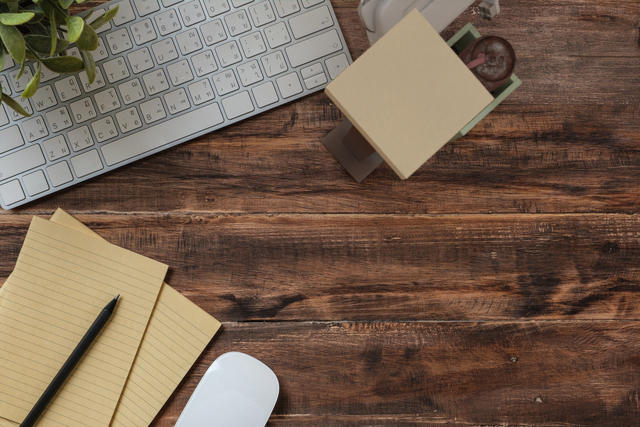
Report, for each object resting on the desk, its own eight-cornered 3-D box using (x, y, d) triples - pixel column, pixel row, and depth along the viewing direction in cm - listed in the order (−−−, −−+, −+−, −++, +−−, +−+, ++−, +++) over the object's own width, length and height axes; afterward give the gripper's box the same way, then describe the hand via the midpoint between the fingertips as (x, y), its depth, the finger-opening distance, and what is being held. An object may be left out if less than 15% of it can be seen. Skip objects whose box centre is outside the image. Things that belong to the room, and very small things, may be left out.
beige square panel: (323, 91, 40) (325, 86, 39) (411, 14, 41) (415, 7, 39) (402, 180, 41) (406, 178, 39) (487, 103, 41) (495, 98, 40)
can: (422, 81, 68) (456, 47, 54) (460, 61, 69) (504, 22, 55) (441, 119, 68) (480, 95, 55) (479, 99, 69) (528, 70, 55)
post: (320, 141, 67) (340, 92, 40) (361, 104, 68) (410, 31, 41) (357, 183, 68) (403, 163, 41) (399, 146, 68) (471, 101, 41)
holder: (399, 86, 68) (410, 74, 62) (453, 38, 69) (469, 21, 63) (448, 142, 69) (463, 135, 63) (502, 94, 69) (522, 82, 63)
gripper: (371, 7, 44) (415, 111, 54) (532, -137, 45) (545, -8, 55) (334, -8, 48) (381, 91, 58) (481, -138, 49) (502, -19, 59)
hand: (461, 42), depth 56 cm, fingers open, 8 cm apart
